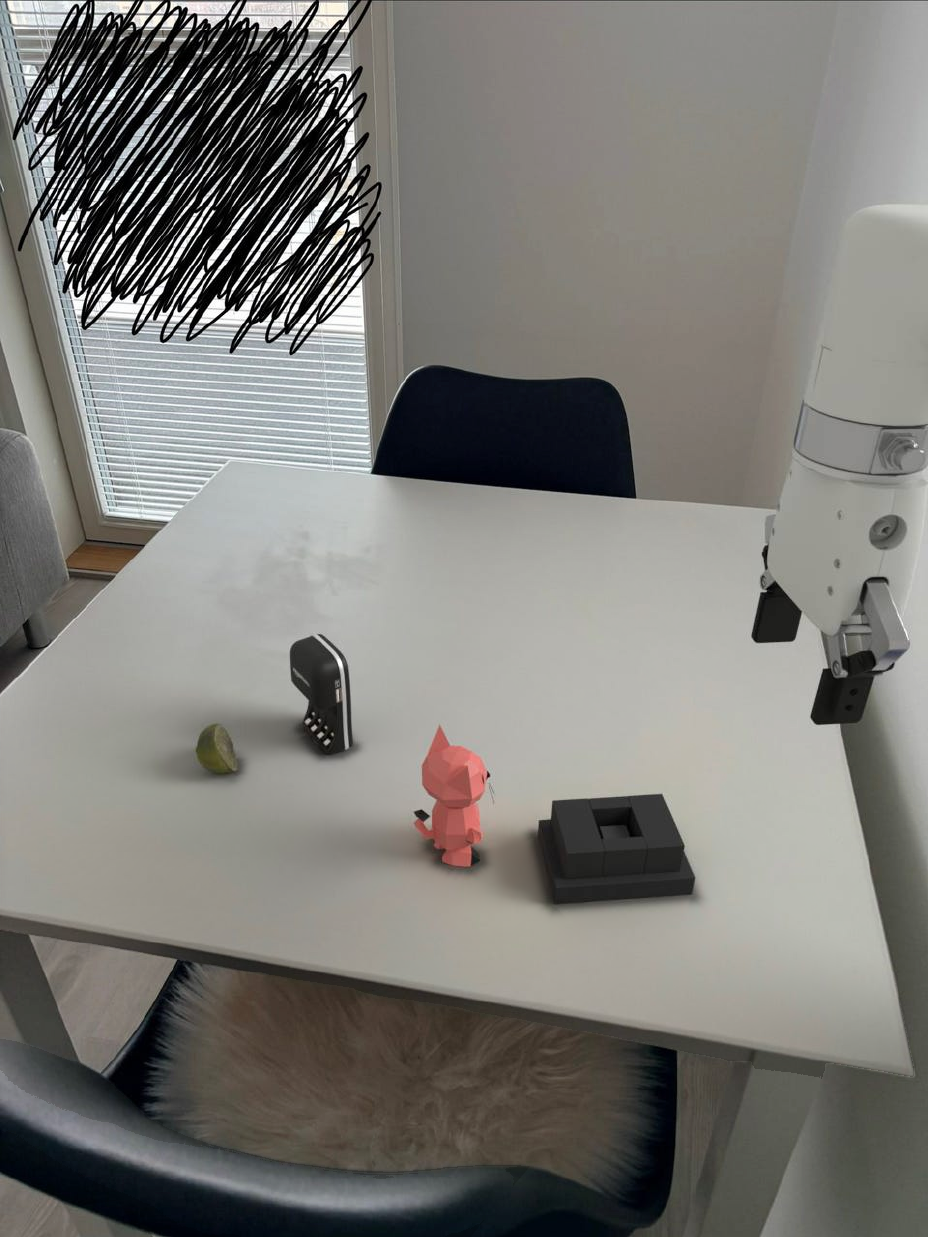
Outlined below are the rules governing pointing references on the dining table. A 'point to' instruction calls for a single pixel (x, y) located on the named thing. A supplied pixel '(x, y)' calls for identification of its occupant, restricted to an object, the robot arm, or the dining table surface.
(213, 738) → the lime
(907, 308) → the robot arm
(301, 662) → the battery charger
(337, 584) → the dining table surface
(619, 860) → the black socket block
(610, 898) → the base pad
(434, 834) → the cat figurine
